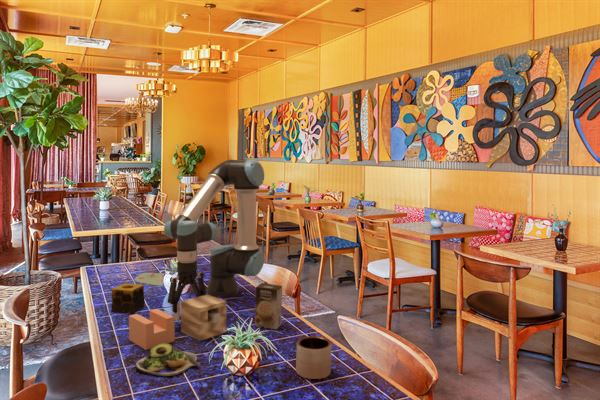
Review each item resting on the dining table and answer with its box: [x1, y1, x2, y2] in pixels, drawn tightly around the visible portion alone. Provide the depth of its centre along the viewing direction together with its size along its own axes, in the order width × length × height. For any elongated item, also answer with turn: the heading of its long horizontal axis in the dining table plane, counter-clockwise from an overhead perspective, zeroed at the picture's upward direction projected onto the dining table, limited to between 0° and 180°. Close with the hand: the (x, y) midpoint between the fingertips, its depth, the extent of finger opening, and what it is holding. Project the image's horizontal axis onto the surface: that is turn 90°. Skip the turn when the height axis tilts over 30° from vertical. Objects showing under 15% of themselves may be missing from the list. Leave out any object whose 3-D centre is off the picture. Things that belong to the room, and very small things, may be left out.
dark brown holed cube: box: [111, 283, 146, 315], centre depth 198 cm, size 10×10×10 cm
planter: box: [295, 335, 332, 380], centre depth 143 cm, size 11×11×10 cm
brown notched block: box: [180, 293, 227, 342], centre depth 174 cm, size 12×12×12 cm
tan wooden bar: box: [179, 300, 220, 323], centre depth 176 cm, size 3×22×3 cm, turn 47°
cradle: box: [128, 308, 176, 351], centre depth 165 cm, size 11×12×9 cm
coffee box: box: [254, 282, 283, 330], centre depth 181 cm, size 9×6×16 cm
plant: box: [134, 262, 166, 286], centre depth 247 cm, size 25×21×9 cm
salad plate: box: [135, 343, 201, 377], centre depth 147 cm, size 19×18×5 cm
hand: (187, 317), depth 182 cm, fingers open, 9 cm apart
